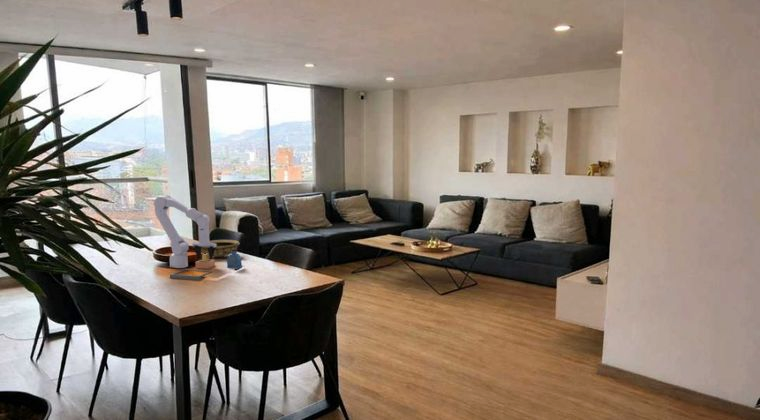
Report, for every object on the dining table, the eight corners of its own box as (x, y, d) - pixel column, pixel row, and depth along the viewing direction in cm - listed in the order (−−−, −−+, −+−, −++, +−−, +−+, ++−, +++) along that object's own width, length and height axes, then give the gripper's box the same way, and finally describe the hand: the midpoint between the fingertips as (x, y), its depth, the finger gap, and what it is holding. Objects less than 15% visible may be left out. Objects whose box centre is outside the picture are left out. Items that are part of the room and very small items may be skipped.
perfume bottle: (241, 267, 294) (241, 247, 292) (237, 270, 288) (236, 250, 286) (231, 267, 294) (230, 247, 293) (227, 270, 288) (226, 249, 287)
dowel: (201, 267, 289) (200, 254, 288) (204, 265, 292) (204, 253, 291) (206, 267, 288) (205, 254, 287) (209, 266, 291) (208, 253, 290)
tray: (170, 278, 270) (169, 274, 270) (184, 272, 283) (184, 268, 282) (199, 280, 266) (198, 276, 265) (212, 274, 278) (212, 270, 278)
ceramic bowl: (230, 251, 339) (229, 237, 338) (250, 256, 323) (249, 241, 322) (188, 258, 317) (187, 243, 316) (207, 264, 301) (206, 248, 300)
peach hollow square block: (195, 270, 287) (195, 261, 287) (203, 267, 295) (203, 259, 294) (207, 271, 285) (207, 262, 285) (215, 268, 293) (214, 259, 292)
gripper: (188, 236, 286) (190, 259, 287) (211, 237, 282) (212, 260, 284) (196, 234, 292) (197, 257, 294) (218, 235, 289) (219, 258, 290)
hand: (205, 258), depth 289 cm, fingers open, 7 cm apart
